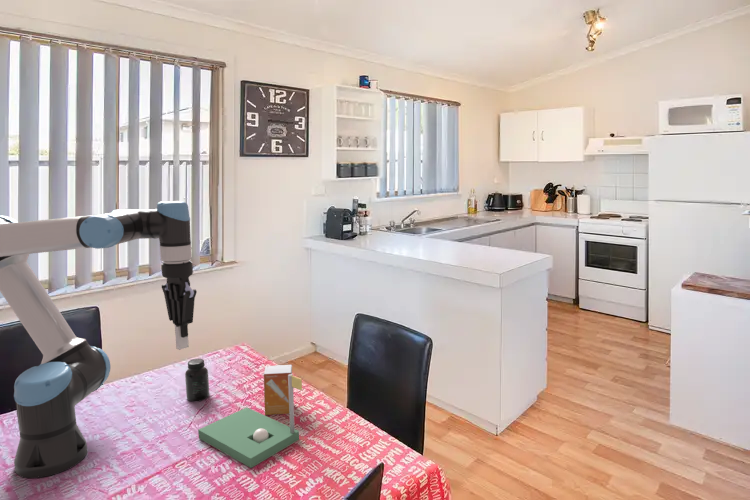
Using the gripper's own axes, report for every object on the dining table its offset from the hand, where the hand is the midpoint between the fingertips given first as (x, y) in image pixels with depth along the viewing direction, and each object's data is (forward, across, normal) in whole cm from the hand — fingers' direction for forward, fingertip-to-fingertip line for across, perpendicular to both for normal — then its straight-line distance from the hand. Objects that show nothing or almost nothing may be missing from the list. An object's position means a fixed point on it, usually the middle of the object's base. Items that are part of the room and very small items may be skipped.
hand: (182, 347), depth 131 cm
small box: (+25, -10, -24) cm, 36 cm away
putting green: (+24, -18, -8) cm, 31 cm away
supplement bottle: (+25, +17, -14) cm, 33 cm away
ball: (+22, -21, -8) cm, 31 cm away
